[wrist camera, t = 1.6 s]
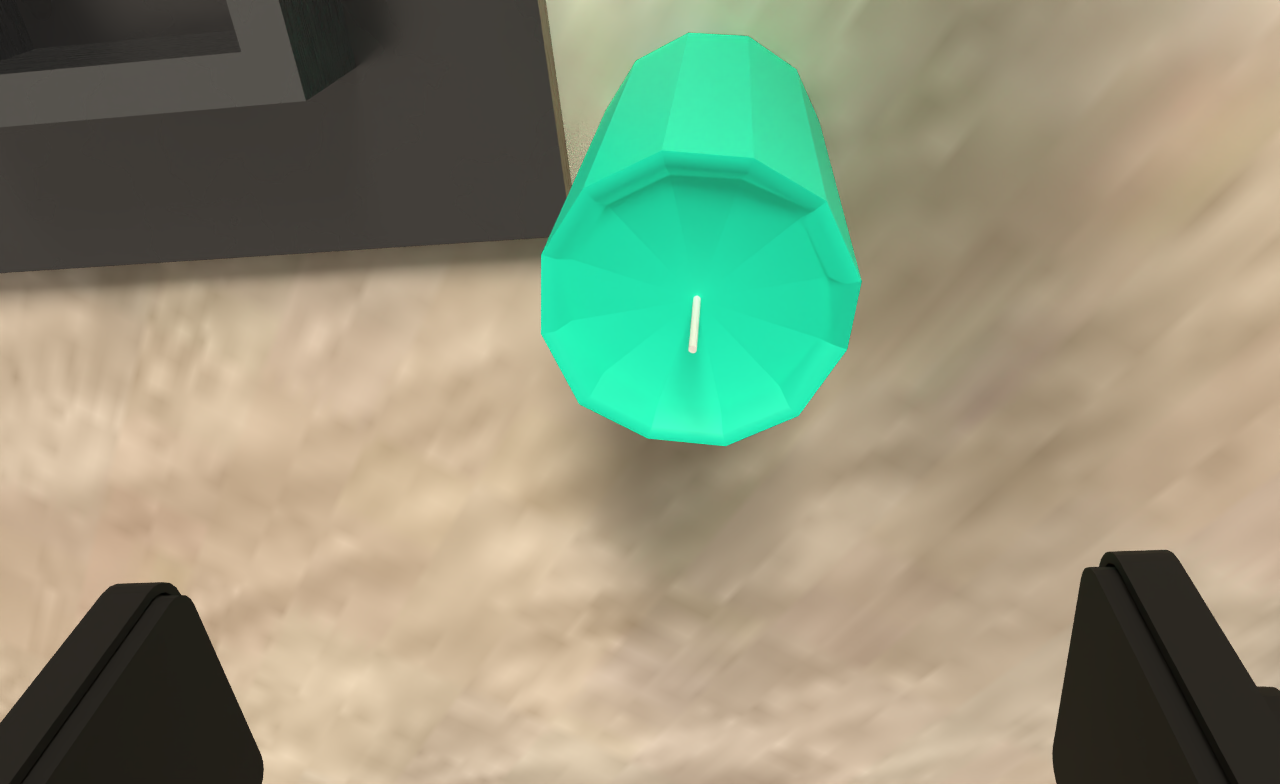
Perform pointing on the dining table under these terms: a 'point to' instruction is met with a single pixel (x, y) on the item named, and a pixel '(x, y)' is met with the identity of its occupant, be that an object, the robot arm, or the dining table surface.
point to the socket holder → (272, 128)
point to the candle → (701, 249)
